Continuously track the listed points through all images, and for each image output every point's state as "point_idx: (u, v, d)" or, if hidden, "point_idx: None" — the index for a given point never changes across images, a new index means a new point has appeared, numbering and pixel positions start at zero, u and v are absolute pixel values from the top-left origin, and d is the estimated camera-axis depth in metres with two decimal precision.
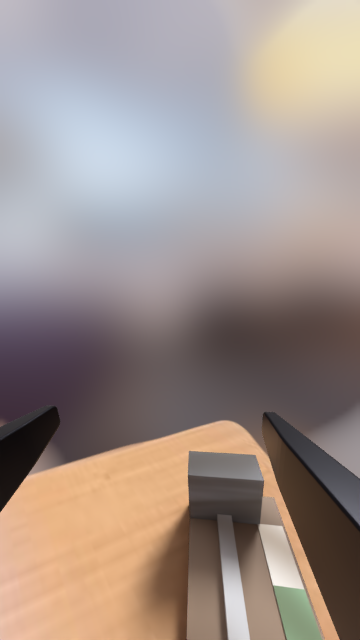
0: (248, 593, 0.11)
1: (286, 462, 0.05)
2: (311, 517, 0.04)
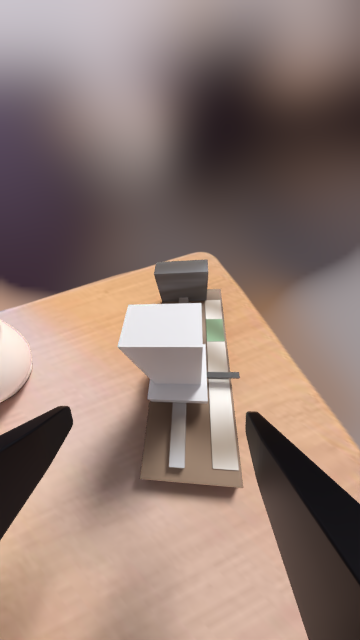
0: None
1: (263, 461, 0.05)
2: (283, 514, 0.04)
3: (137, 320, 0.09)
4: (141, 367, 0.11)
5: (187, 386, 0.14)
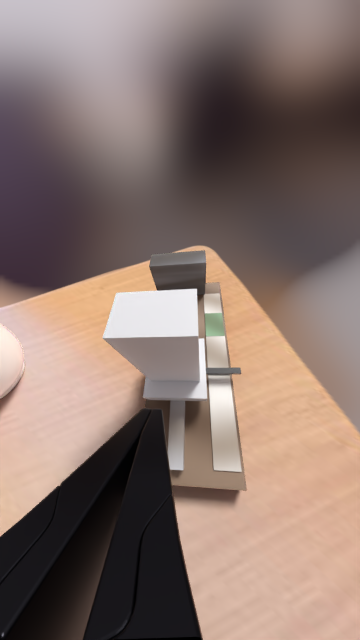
0: None
1: None
2: None
3: (125, 309, 0.08)
4: (133, 362, 0.10)
5: (185, 383, 0.13)
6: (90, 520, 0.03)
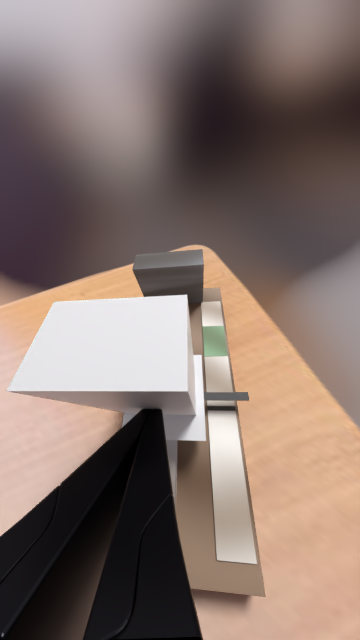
0: None
1: None
2: None
3: (62, 331, 0.04)
4: (93, 406, 0.06)
5: (176, 417, 0.10)
6: (90, 520, 0.03)
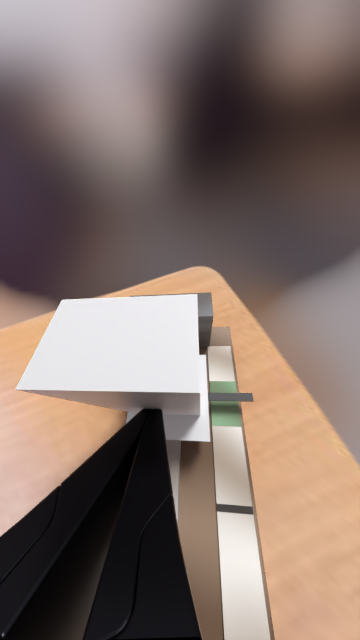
0: None
1: None
2: None
3: (70, 329, 0.04)
4: (99, 405, 0.06)
5: (180, 417, 0.10)
6: (90, 520, 0.03)
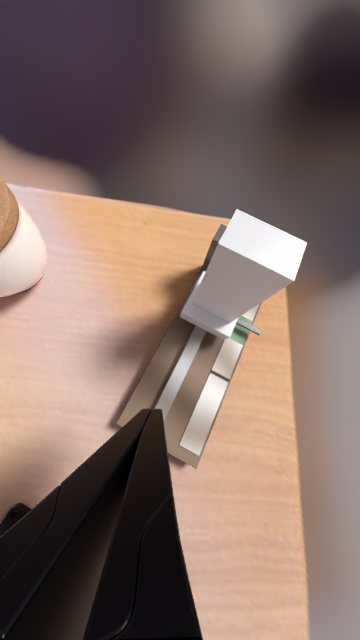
0: None
1: None
2: None
3: (242, 228, 0.08)
4: (205, 279, 0.11)
5: (218, 318, 0.16)
6: (90, 520, 0.03)
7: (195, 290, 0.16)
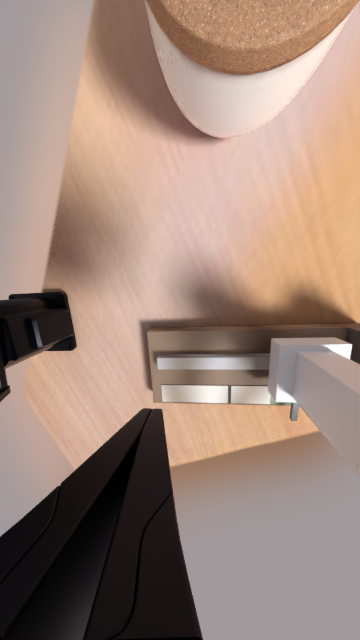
0: None
1: None
2: None
3: None
4: (353, 394, 0.08)
5: (291, 384, 0.13)
6: (90, 520, 0.03)
7: (316, 347, 0.13)
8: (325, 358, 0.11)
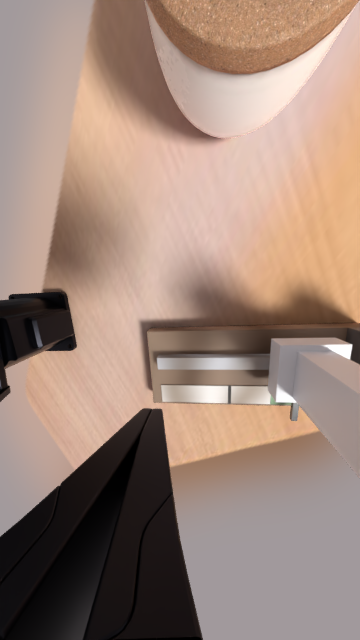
0: None
1: None
2: None
3: None
4: (353, 394, 0.08)
5: (291, 384, 0.13)
6: (90, 520, 0.03)
7: (317, 347, 0.13)
8: (325, 358, 0.11)
